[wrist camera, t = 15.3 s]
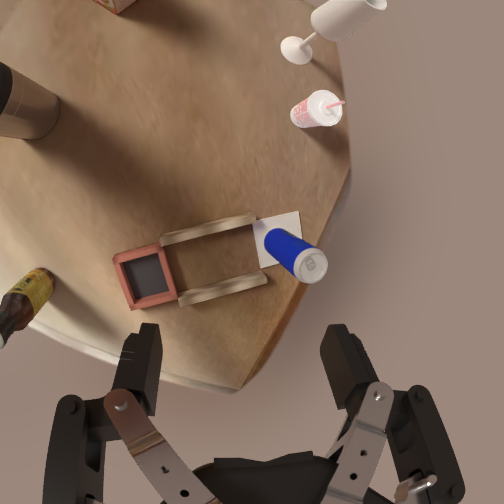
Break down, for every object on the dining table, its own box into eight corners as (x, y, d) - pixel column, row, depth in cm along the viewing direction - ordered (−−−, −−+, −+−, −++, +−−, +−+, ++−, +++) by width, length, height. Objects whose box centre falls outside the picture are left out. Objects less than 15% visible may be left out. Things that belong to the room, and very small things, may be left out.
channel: (179, 298, 50) (180, 307, 47) (160, 234, 46) (159, 239, 43) (261, 275, 53) (267, 282, 50) (249, 212, 49) (255, 215, 46)
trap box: (132, 304, 48) (131, 310, 46) (114, 254, 45) (111, 258, 42) (177, 292, 50) (178, 298, 47) (162, 241, 46) (161, 245, 44)
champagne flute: (279, 33, 40) (346, -30, 18) (311, 39, 42) (387, -12, 20) (281, 62, 42) (354, 5, 20) (313, 67, 44) (396, 23, 22)
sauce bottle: (44, 259, 41) (-10, 307, 22) (62, 286, 43) (18, 345, 25) (24, 276, 40) (-27, 326, 22) (42, 302, 42) (-1, 360, 24)
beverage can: (293, 243, 53) (335, 269, 39) (272, 259, 52) (307, 292, 38) (279, 221, 51) (319, 242, 37) (257, 238, 50) (289, 266, 37)
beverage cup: (319, 129, 48) (364, 120, 35) (291, 134, 47) (331, 124, 34) (312, 99, 46) (354, 82, 33) (282, 102, 45) (320, 83, 32)
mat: (260, 267, 53) (260, 268, 52) (251, 221, 50) (252, 221, 49) (303, 255, 54) (304, 256, 54) (297, 210, 51) (298, 211, 51)
